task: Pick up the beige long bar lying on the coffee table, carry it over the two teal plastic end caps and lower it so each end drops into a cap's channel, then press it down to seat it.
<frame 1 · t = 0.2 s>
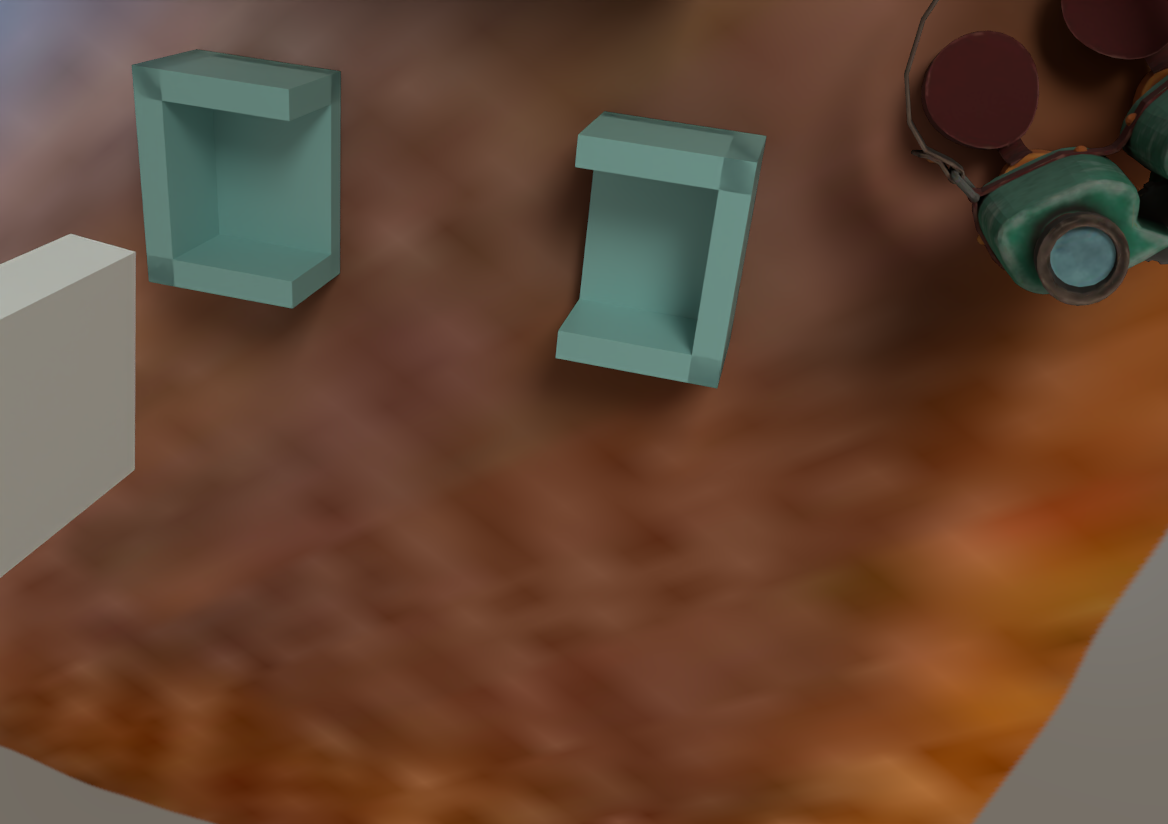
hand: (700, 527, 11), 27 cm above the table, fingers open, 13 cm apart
binoculars: (1052, 69, 34), on the table
cap b: (668, 231, 38), on the table
cap a: (270, 164, 40), on the table
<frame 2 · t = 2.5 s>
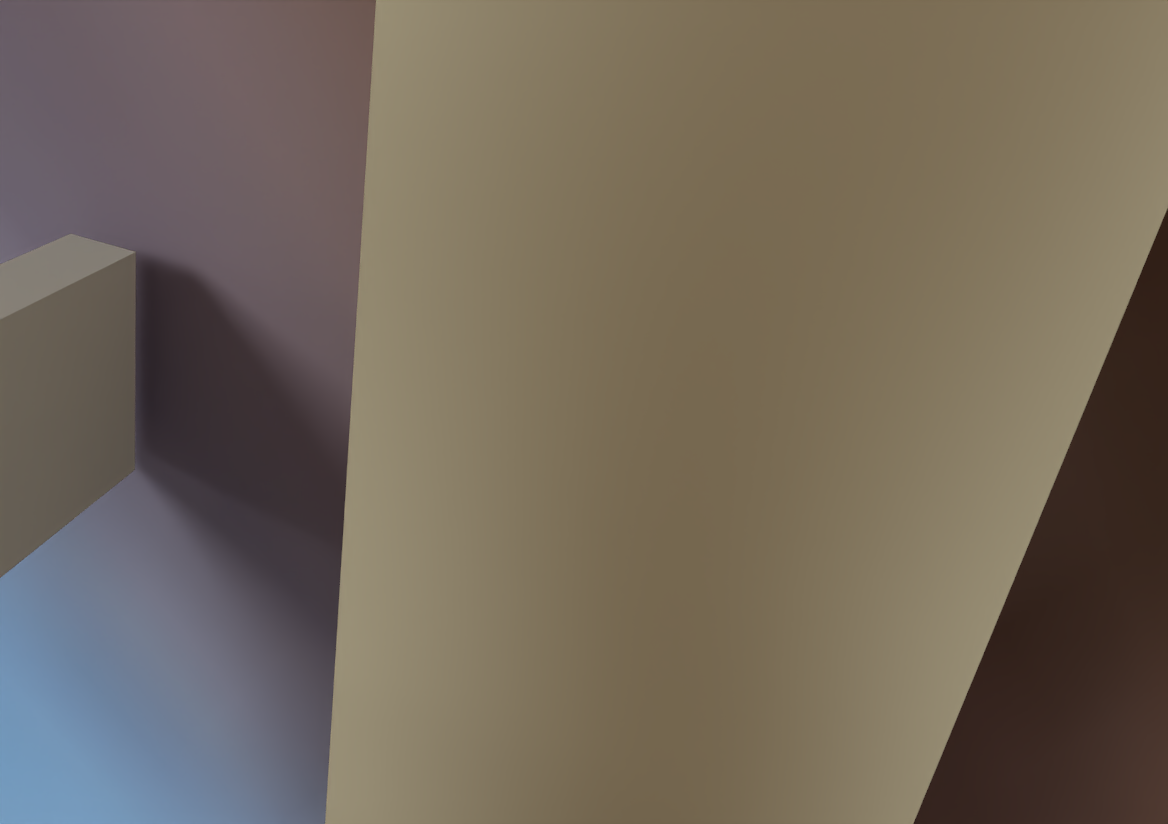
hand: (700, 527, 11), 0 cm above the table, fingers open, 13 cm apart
beige long bar: (686, 478, 12), on the table
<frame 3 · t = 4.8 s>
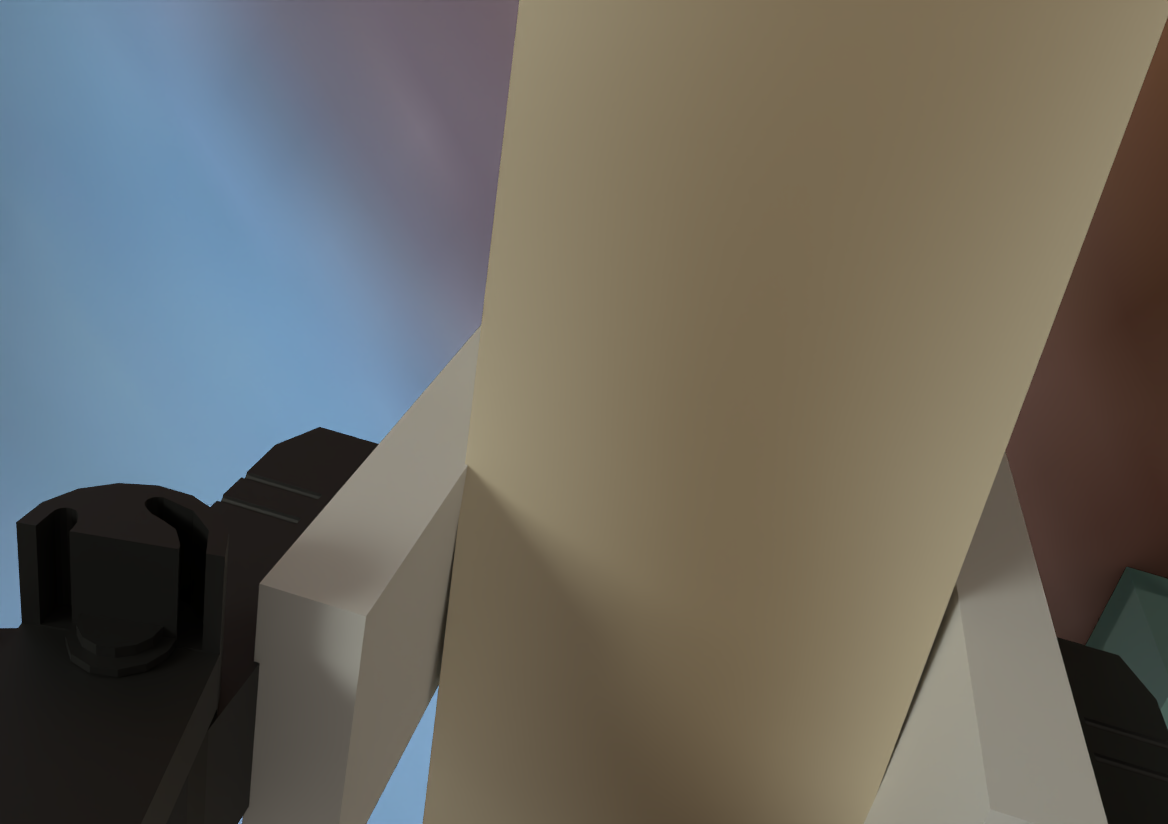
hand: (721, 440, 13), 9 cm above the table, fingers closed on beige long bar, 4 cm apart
beige long bar: (726, 420, 14), point 9 cm above the table, touching gripper
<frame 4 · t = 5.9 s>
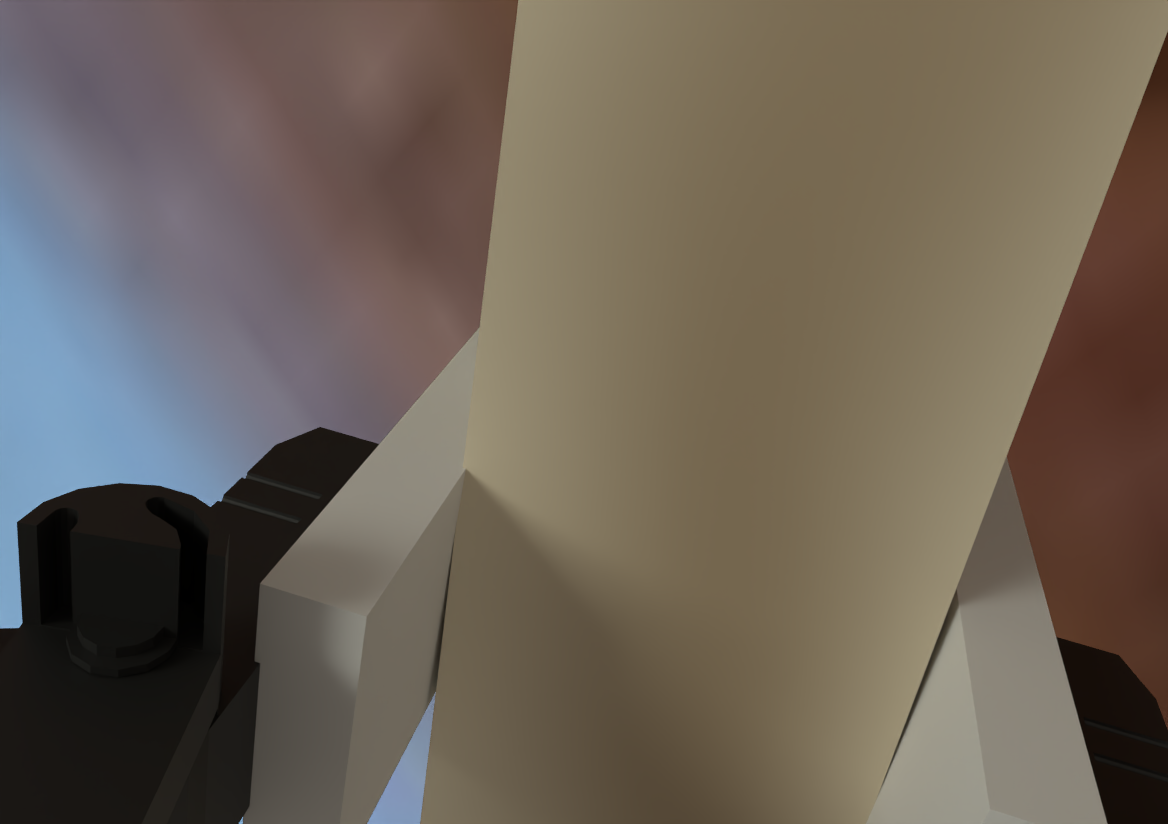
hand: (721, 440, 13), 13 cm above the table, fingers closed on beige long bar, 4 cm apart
beige long bar: (725, 422, 14), point 12 cm above the table, touching gripper
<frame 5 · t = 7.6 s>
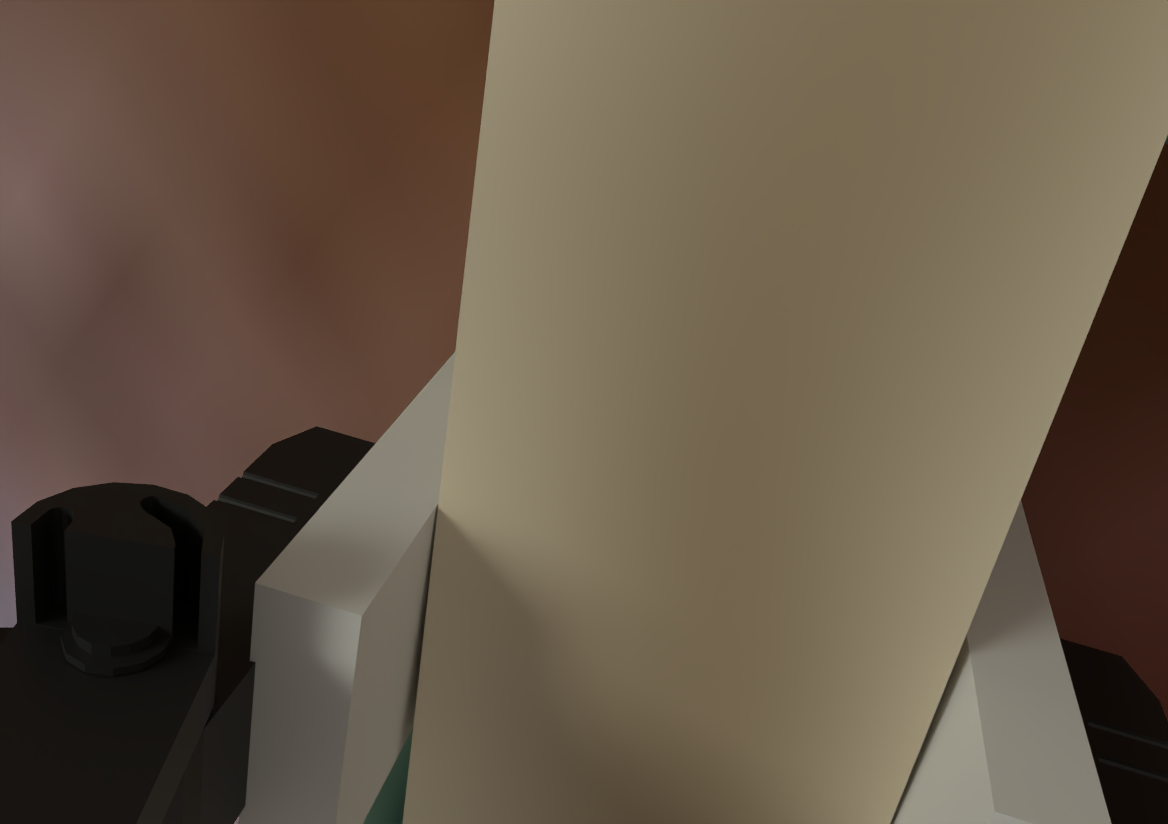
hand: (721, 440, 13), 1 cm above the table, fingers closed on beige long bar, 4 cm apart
cap a: (600, 815, 17), on the table
beige long bar: (720, 441, 13), point 1 cm above the table, touching cap a, cap b, gripper
when the fingers open (0 cm above the table, at t = 7.9 s): beige long bar stays where it is, resting on cap a, cap b.
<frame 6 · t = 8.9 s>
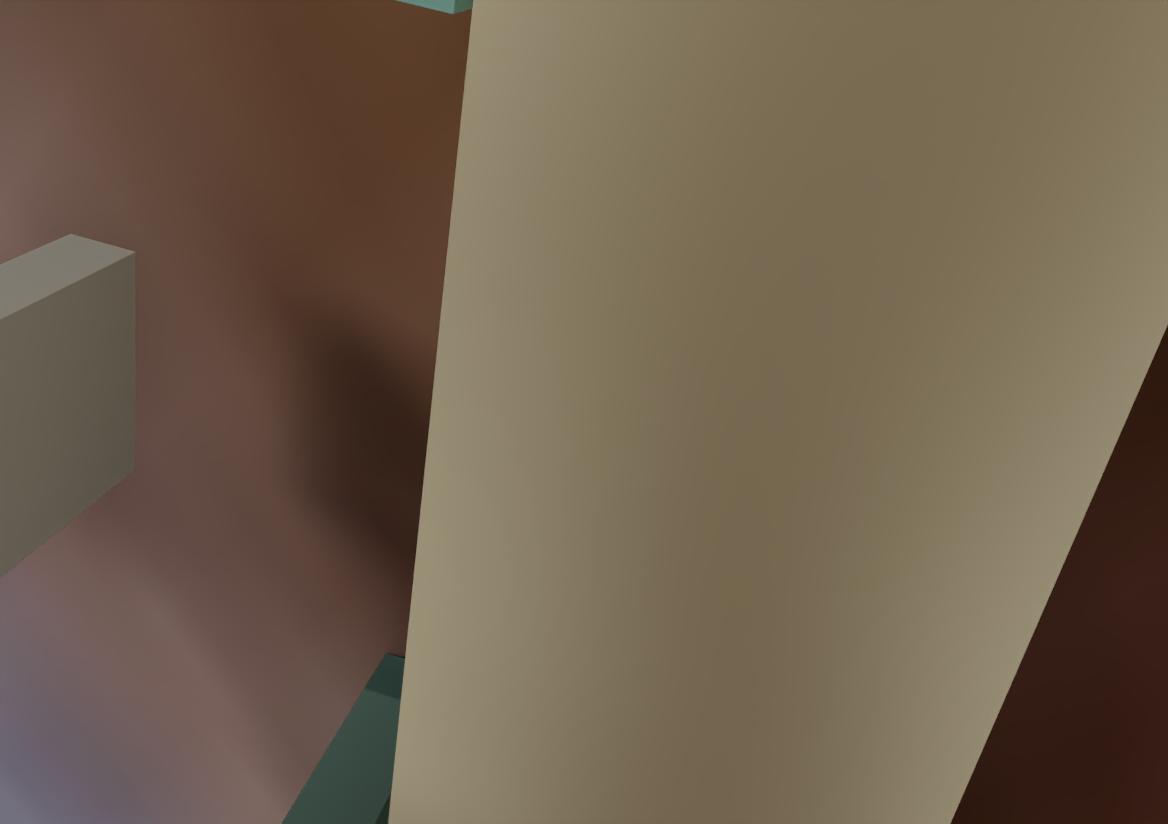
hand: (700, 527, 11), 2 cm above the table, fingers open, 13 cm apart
beige long bar: (723, 482, 12), point 1 cm above the table, touching cap a, cap b
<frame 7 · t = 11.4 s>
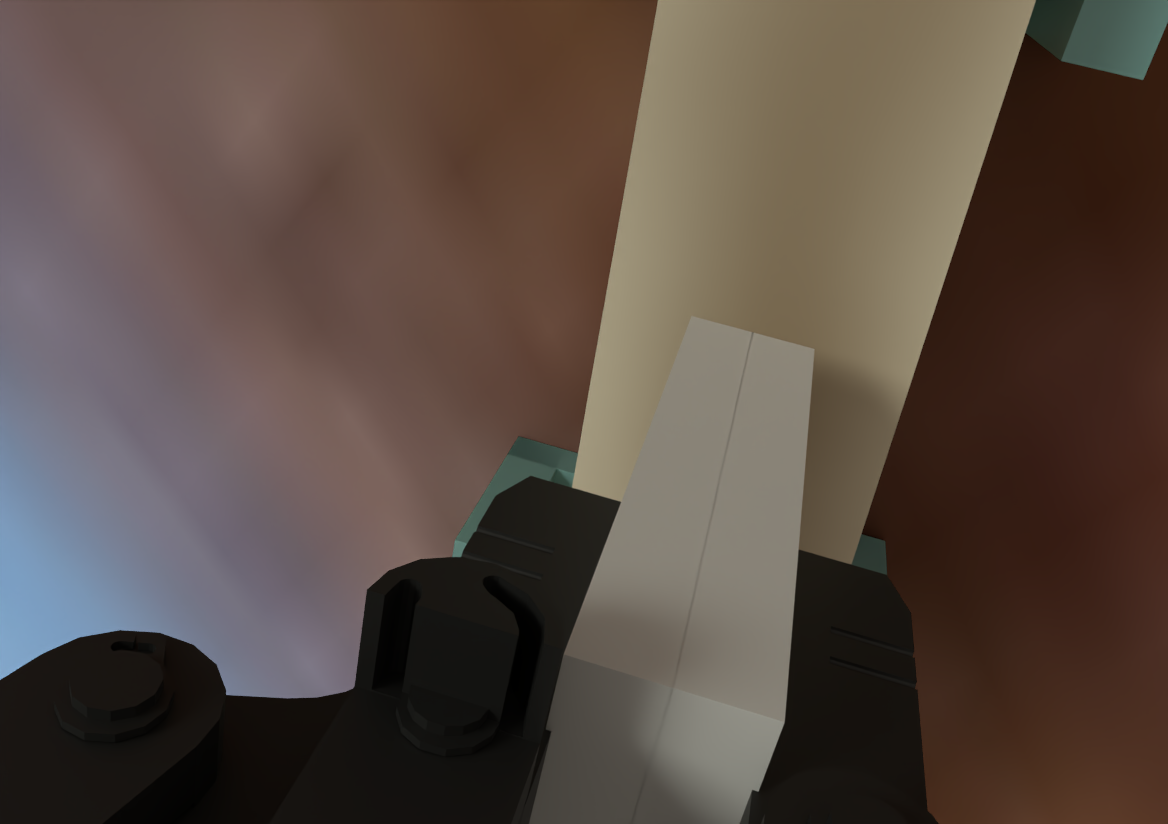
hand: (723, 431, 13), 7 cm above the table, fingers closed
cap a: (666, 597, 23), on the table
beige long bar: (765, 285, 19), point 1 cm above the table, touching cap a, cap b
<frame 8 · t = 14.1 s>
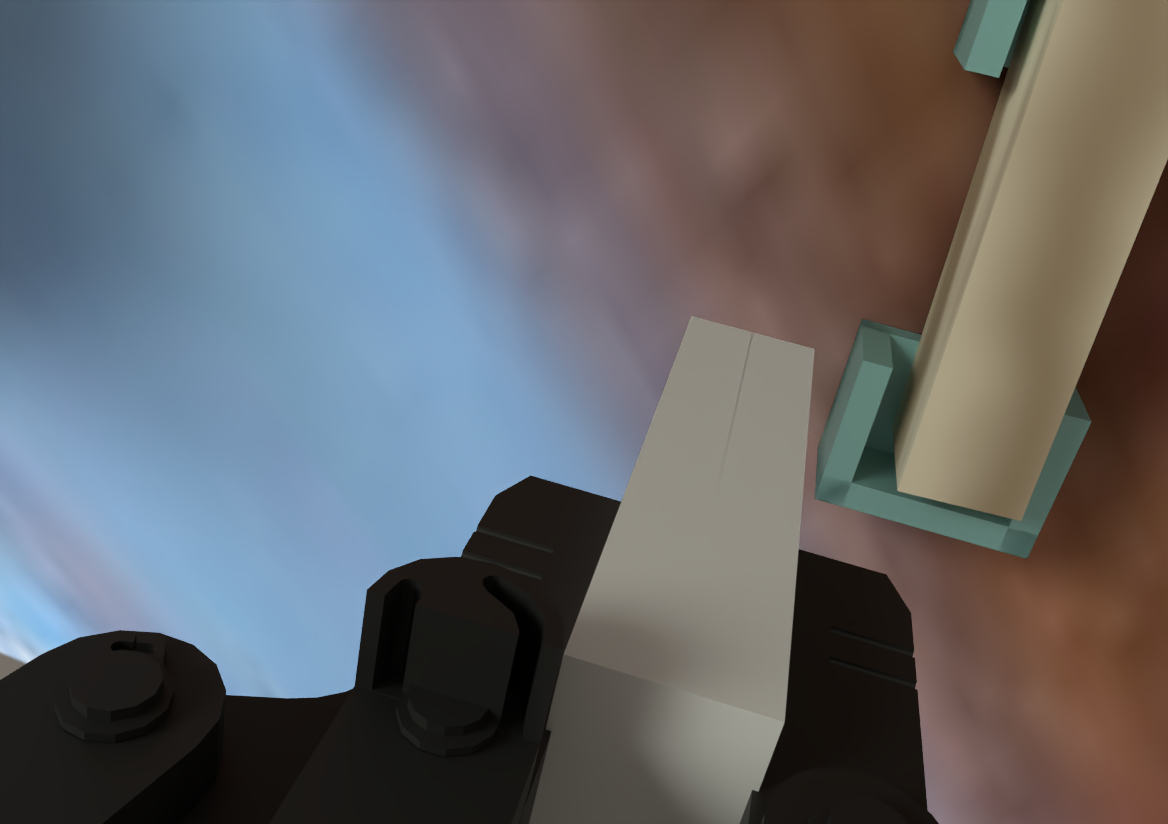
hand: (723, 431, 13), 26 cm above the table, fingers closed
cap a: (938, 412, 40), on the table
beige long bar: (1020, 230, 36), point 1 cm above the table, touching cap a, cap b
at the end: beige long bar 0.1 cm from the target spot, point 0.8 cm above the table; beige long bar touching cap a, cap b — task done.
